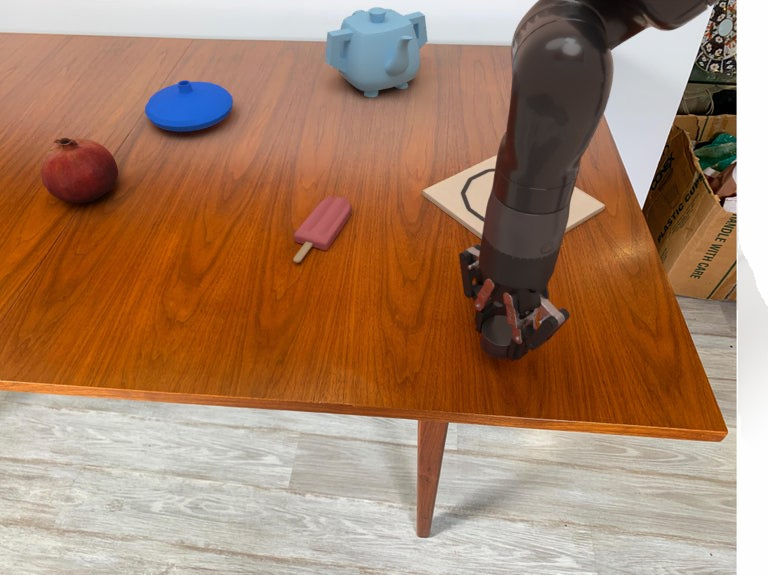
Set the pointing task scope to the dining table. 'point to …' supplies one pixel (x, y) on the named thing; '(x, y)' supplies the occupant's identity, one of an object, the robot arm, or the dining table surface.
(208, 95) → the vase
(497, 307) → the dot right
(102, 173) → the fruit
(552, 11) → the robot arm
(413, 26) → the teapot
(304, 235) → the popsicle
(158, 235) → the dining table surface
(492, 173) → the board
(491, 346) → the dot left
